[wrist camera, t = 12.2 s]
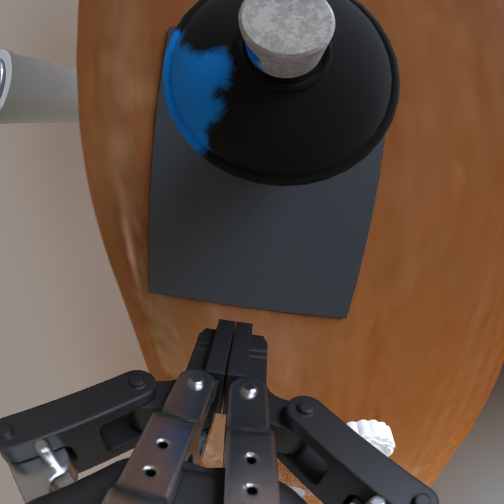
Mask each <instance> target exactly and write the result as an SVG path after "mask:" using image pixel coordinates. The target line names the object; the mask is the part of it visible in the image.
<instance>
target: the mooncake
mask: <svg viewBox="0 0 504 504" xmlns="http://www.w3.org/2000/svg"><path fill="white" fill-rule="evenodd" d="M346 424H347V425H348V426H349V427H350V428H352V429H353V430H354V431H355V432H357V433H358V434H359V435H360V436H362V437H363V438H364V439H365V440H367V441H368V442H369V443H370V444H372V445H373V446H374V447H375V448H377V449H378V450H379V451H381V452H382V453H383V454H384V455H386V456H387V457H389V456H390V455H391V454H392V453H393V449H394V448H395V443H394V439H393V436H392V433H391V429H390V427H389V426H386V424H385V423H384V422H378V421H377V420H369V421H367V420H359V421H357V422H353V421H351V422H347V423H346Z"/></svg>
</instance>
